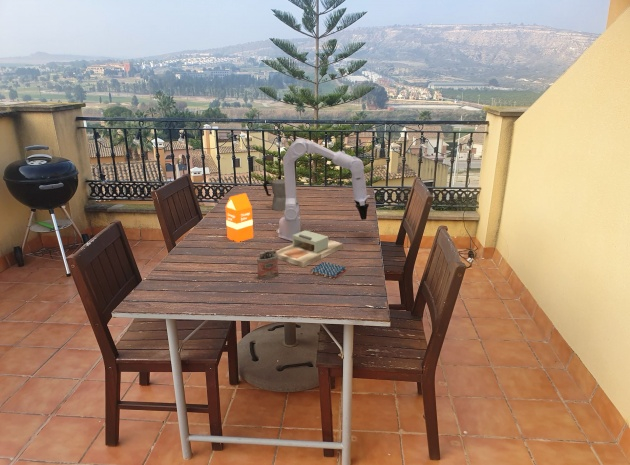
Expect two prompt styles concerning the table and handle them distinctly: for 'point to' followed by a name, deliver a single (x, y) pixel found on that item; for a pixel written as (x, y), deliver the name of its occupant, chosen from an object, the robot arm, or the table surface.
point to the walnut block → (308, 246)
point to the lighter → (267, 264)
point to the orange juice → (239, 218)
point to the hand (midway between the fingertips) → (363, 216)
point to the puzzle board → (306, 253)
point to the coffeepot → (277, 193)
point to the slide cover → (311, 240)
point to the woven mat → (328, 270)
